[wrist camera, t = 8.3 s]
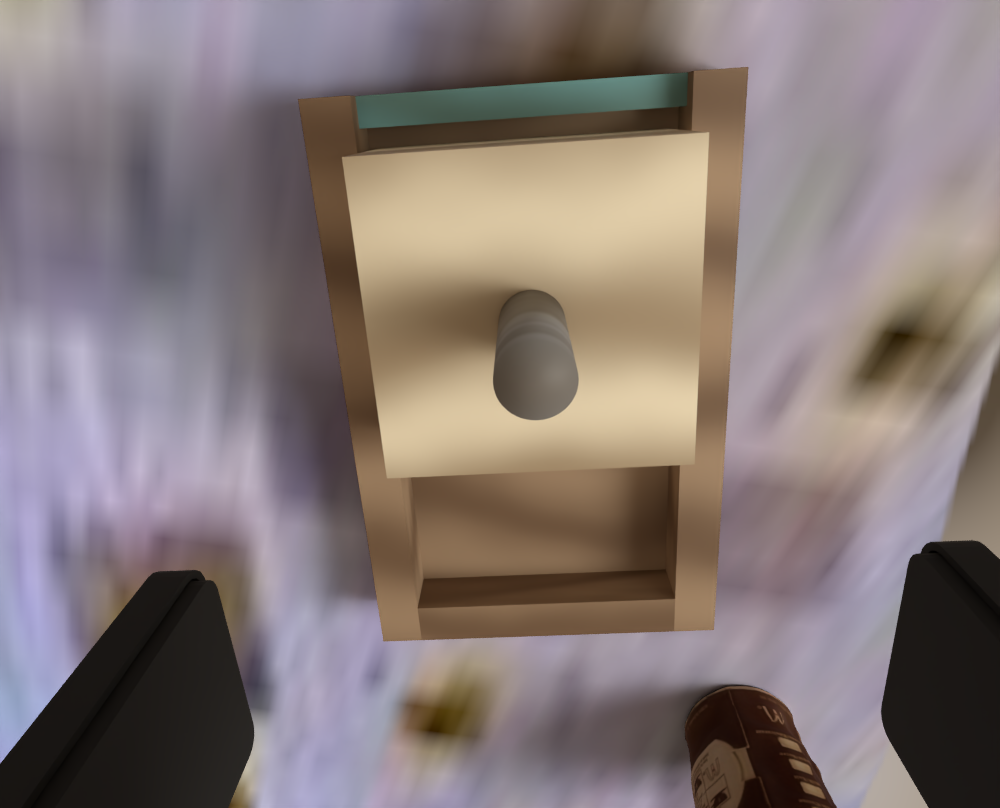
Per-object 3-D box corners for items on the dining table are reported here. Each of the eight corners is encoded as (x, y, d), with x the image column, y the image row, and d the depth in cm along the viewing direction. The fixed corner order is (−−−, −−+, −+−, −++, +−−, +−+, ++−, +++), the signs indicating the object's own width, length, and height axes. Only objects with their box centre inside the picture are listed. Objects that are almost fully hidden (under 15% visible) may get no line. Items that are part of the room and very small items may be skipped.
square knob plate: (380, 148, 30) (286, 170, 18) (667, 128, 29) (770, 137, 17) (411, 410, 34) (354, 569, 22) (660, 397, 34) (739, 553, 22)
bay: (320, 100, 30) (297, 99, 27) (724, 71, 29) (748, 67, 26) (394, 601, 40) (383, 641, 37) (698, 589, 39) (713, 629, 36)
